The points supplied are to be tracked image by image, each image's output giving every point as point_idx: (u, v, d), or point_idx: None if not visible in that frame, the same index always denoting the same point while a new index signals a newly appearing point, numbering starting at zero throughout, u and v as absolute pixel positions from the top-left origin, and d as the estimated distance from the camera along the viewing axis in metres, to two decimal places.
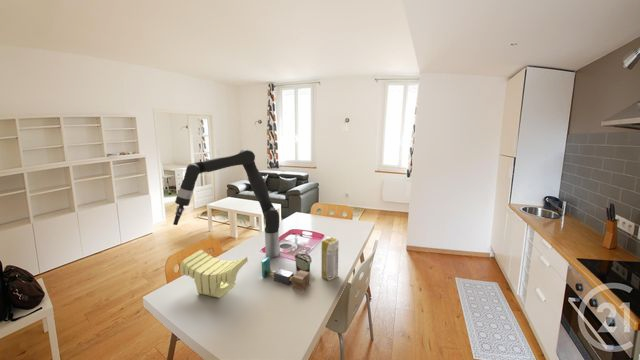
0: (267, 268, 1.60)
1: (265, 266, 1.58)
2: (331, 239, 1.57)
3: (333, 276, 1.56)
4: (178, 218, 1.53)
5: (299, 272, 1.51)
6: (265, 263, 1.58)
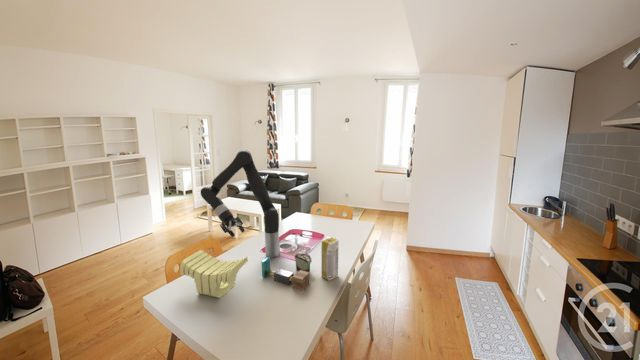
0: (267, 268, 1.60)
1: (265, 266, 1.58)
2: (331, 239, 1.57)
3: (333, 276, 1.56)
4: (226, 231, 1.60)
5: (299, 272, 1.51)
6: (265, 263, 1.58)
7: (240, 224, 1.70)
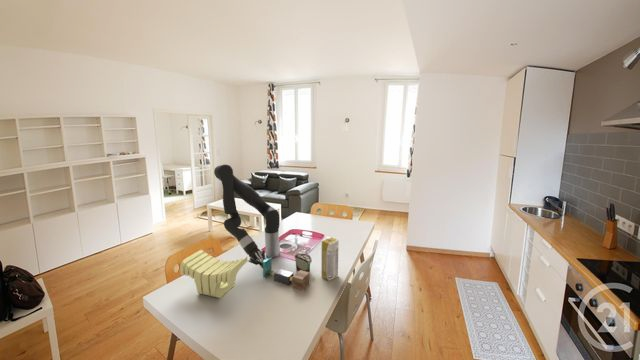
0: (268, 268, 1.59)
1: (266, 266, 1.57)
2: (331, 239, 1.57)
3: (333, 276, 1.56)
4: (257, 263, 1.58)
5: (299, 272, 1.51)
6: (266, 263, 1.57)
7: (262, 259, 1.61)
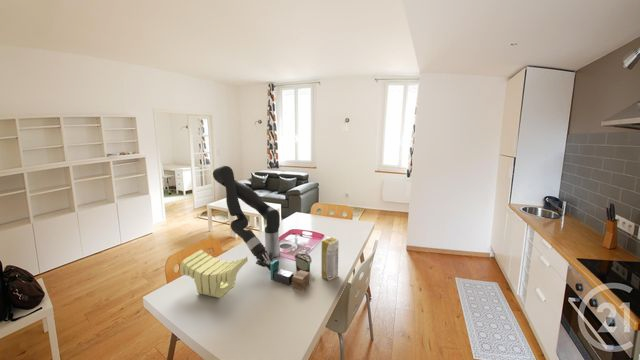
0: (276, 270, 1.57)
1: (274, 268, 1.55)
2: (331, 239, 1.57)
3: (333, 276, 1.56)
4: (265, 265, 1.56)
5: (299, 272, 1.51)
6: (274, 265, 1.55)
7: (269, 261, 1.59)
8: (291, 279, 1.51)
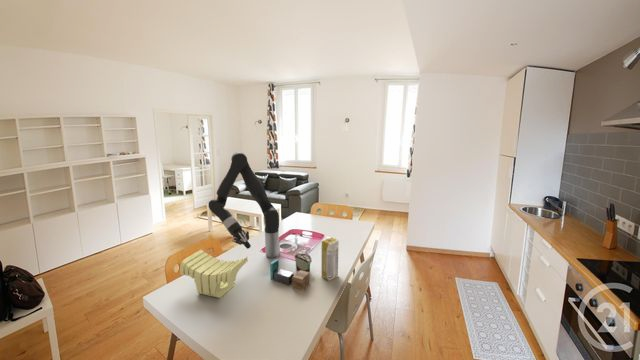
0: (275, 270, 1.57)
1: (274, 268, 1.55)
2: (331, 239, 1.57)
3: (333, 276, 1.56)
4: (241, 242, 1.61)
5: (299, 272, 1.51)
6: (274, 265, 1.55)
7: (246, 239, 1.64)
8: (291, 279, 1.51)
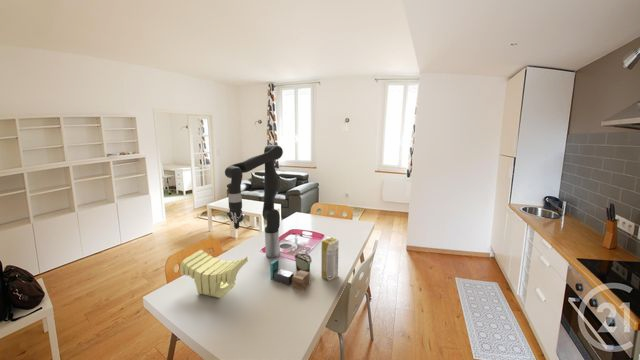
0: (275, 270, 1.57)
1: (274, 268, 1.55)
2: (331, 239, 1.57)
3: (333, 276, 1.56)
4: None
5: (299, 272, 1.51)
6: (274, 265, 1.55)
7: (236, 220, 1.63)
8: (291, 279, 1.51)
